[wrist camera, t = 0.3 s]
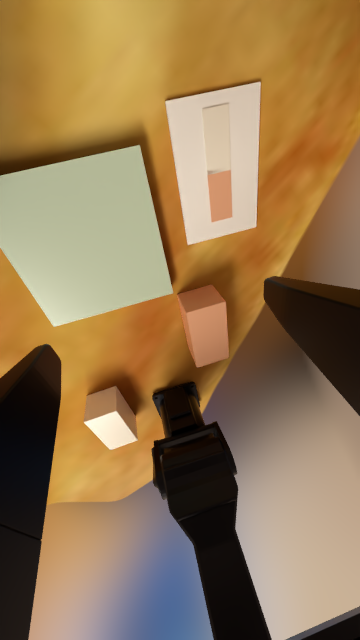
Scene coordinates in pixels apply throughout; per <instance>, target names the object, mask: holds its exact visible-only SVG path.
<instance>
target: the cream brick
mask: <svg viewBox="0 0 360 640" xmlns="http://www.w3.org/2000/svg"><path fill="white" fill-rule="evenodd" d="M84 423H85V424H86V425H87V426H88V427H89V428H90V429H91V430H92V431H93V432H94V433H95V435H96V436H97V437H98V438H99V439H100V440H101V441H102V442H103V443H104V444H105V445H106V446H107V447H108V448H109V449H110V450H112V449H115V448H118V447H121V446H123V445H126V444H129V443H132V442H134V441H137V440H138V438H137V427H136V416H135V415H134V413H133V412H132V410H131V408H130V407H129V405H128V404H127V402H126V401H125V399H124V398H123V396H122V395H121V393H120V391H119V390H118V388H117V387H116V386H114V387H111V388H108V389H105V390H102V391H99V392H96V393H93V394H90V395H87V398H86V407H85V416H84Z"/></svg>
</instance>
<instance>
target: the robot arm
mask: <svg viewBox="0 0 360 640" xmlns="http://www.w3.org/2000/svg"><path fill="white" fill-rule="evenodd" d="M264 300H265V302H266V303H267V305H268V306H269V308H270V309H271V311H272V312H273V313H274V315H275V317H276V318H277V320H278V321H279V322H280V324H281V325H282V327H283V328H284V329H285V330H286V332H287V333H288V334H289V335H290V336H291V337H292V338H293V340H294V341H295V342H296V343H297V344H298V345H299V347H300V348H301V349H302V350H303V351H304V352H305V353H306V355H307V356H308V357H309V358H310V359H311V360H312V362H313V363H314V364H315V365H316V366H317V367H318V368H319V370H320V371H321V372H322V373H323V374H324V375H325V376H326V378H327V379H328V380H329V381H330V382H331V383H332V385H333V386H334V387H335V388H336V389H337V390H338V391H339V393H340V394H341V395H342V396H343V397H344V398H345V400H346V401H347V402H348V403H349V404H350V405H351V406H352V408H353V409H354V410H355V411H356V412H357V413H358V415H359V416H360V290H358V289H352V288H346V287H339V286H333V285H327V284H321V283H315V282H309V281H302V280H296V279H290V278H283V277H277V276H273V277H270V278H267V279H265V281H264ZM152 398H153V401H154V403H155V406H156V408H157V410H158V412H159V415H160V417H161V419H162V424H163V429H164V434H165V438H164V439H161V440H156V441H154V447H153V448H152V456H153V483H154V486H155V487H157V488H158V489H159V492H160V493H161V496H162V499H163V500H165V499H167V501H168V506H169V510H170V513H171V515H172V516H173V517H174V519H175V520H176V521H177V523H178V524H179V525H180V527H181V528H182V529H183V531H184V532H185V534H186V535H187V536H188V538H189V539H190V541H191V542H192V543H193V545H194V549H195V554H196V559H197V563H198V567H199V573H200V577H201V582H202V587H203V591H204V596H205V600H206V605H207V610H208V614H209V619H210V624H211V628H212V633H213V638H214V640H271V636H270V633H269V630H268V627H267V624H266V622H265V618H264V615H263V612H262V609H261V606H260V603H259V600H258V597H257V594H256V591H255V588H254V585H253V582H252V579H251V576H250V573H249V570H248V567H247V564H246V561H245V558H244V554H243V552H242V548H241V545H240V542H239V539H238V536H237V533H236V530H235V523H236V510H237V495H238V486H237V483H236V480H235V477H234V475H236V474H237V470H236V466H235V462H234V459H233V456H232V454H231V451H230V448H229V446H228V444H227V442H226V440H225V438H224V436H223V434H222V432H221V430H220V427H219V426H218V423H217V421H216V422H213V423H211V424H208V425H205V423H204V420H203V417H202V414H201V411H200V408H199V407H200V403H199V399H198V394H197V390H196V385H195V383H194V382H190V383H187V384H184V385H181V386H178V387H175V388H171V389H168V390H165V391H162V392H159V393H156V394H154V395H153V396H152ZM60 400H61V360H60V358H59V357H58V355H57V354H56V353H55V351H54V350H53V349H52V347H51V346H50V345H49V344H44V345H41V346H38V347H36V348H34V349H33V350H32V351H31V352H30V353H29V354H28V355H26V356H25V357H24V358H23V359H22V360H21V361H20V362H18V363H17V364H16V365H15V366H14V367H13V368H12V369H10V370H9V371H8V372H7V373H6V374H5V375H4V376H2V377H1V378H0V640H28V637H29V630H30V622H31V615H32V607H33V600H34V593H35V586H36V579H37V572H38V564H39V557H40V550H41V539H42V533H43V525H44V519H45V511H46V504H47V497H48V489H49V482H50V474H51V467H52V460H53V452H54V445H55V438H56V430H57V423H58V416H59V408H60ZM286 640H360V606H359V607H357V608H355V609H353V610H351V611H349V612H346V613H344V614H342V615H340V616H337V617H335V618H333V619H331V620H328V621H326V622H324V623H322V624H319V625H318V626H315V627H313V628H311V629H308V630H306V631H304V632H302V633H299V634H297V635H295V636H293V637H290V638H288V639H286Z"/></svg>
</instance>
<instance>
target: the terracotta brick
mask: <svg viewBox="0 0 360 640" xmlns="http://www.w3.org/2000/svg"><path fill="white" fill-rule="evenodd" d="M177 296H178V301H179V306H180V310H181V315H182V320H183V325H184V329H185V334H186V339H187V343H188V347H189V350H190V352H191V355H192V357H193V360H194V362H195V364H196V367H197V368H198V367H201V366H205V365H208V364H211V363H214V362H217V361H220V360H224V359H227V358H229V348H228V331H227V314H226V301H225V300H224V299H223V298H222V296H221V295H220V294H219V293H218V291H217V290H216V289H215V288H214V286H213V285H212V284H211V285H208V286H204V287H201V288H197V289H194V290H190V291H187V292H183V293H179V294H177Z"/></svg>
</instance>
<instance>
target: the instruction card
mask: <svg viewBox="0 0 360 640" xmlns="http://www.w3.org/2000/svg"><path fill="white" fill-rule="evenodd" d="M260 87H261V82H257V83H252V84H247V85H242V86H237V87H232V88H227V89H222V90H217V91H213V92H208V93H203V94H198V95H193V96H188V97H183V98H178V99H173V100H169V101H165V105H166V111H167V117H168V124H169V130H170V136H171V143H172V149H173V155H174V162H175V168H176V174H177V181H178V187H179V193H180V200H181V206H182V213H183V219H184V225H185V232H186V238H187V244H188V245H190V244H194V243H198V242H202V241H205V240H209V239H213V238H217V237H220V236H224V235H228V234H232V233H236V232H239V231H243V230H247V229H251V228H254V227H256V222H257V188H258V154H259V121H260Z"/></svg>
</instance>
